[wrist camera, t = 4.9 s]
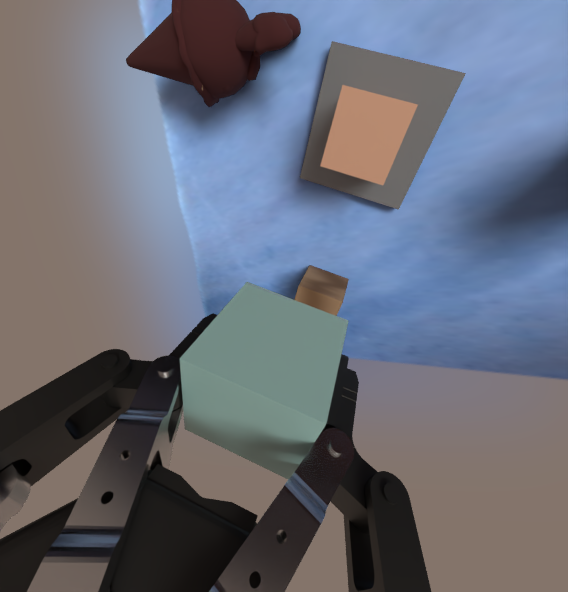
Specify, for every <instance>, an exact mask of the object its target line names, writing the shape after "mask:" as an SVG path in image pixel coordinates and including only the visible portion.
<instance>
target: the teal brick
mask: <svg viewBox="0 0 568 592" xmlns="http://www.w3.org/2000/svg"><path fill="white" fill-rule="evenodd" d="M347 325H348V320H345V319H343V318H340V317H337V316H335V315H332V314H330V313H327V312H324V311H322V310H319V309H316V308H314V307H311V306H309V305H306V304H303V303H301V302H298V301H295V300H293V299H290V298H288V297H285V296H282V295H280V294H277V293H275V292H272V291H269V290H267V289H264V288H261V287H259V286H256V285H254V284H251V283H248V282H246V284H245V285H244V286H243V287H242V288H241V289H240V290H239V292H238V293H237V294H236V295H235V296H234V297H233V298H232V300H231V301H230V302H229V303H228V304H227V305H226V306H225V307H224V309H223V310H222V311H221V312H220V313H219V314H218V315H217V317H216V318H215V319H214V320H213V321H212V322H211V323H210V325H209V326H208V327H207V328H206V329H205V330H204V331H203V333H202V334H201V335H200V336H199V337H198V338H197V339H196V341H195V342H194V343H193V344H192V345H191V346H190V347H189V348H188V350H187V351H186V352H185V353H184V354H183V355H182V356H181V358H180V370H181V384H182V397H183V411H184V423H185V429H186V430H188V431H190V432H192V433H194V434H196V435H198V436H200V437H203V438H204V439H206V440H208V441H211V442H213V443H215V444H217V445H219V446H221V447H223V448H225V449H227V450H229V451H231V452H233V453H235V454H237V455H239V456H241V457H243V458H245V459H248V460H250V461H252V462H254V463H256V464H258V465H260V466H262V467H264V468H266V469H268V470H270V471H272V472H274V473H276V474H278V475H280V476H282V477H285V478H286V479H289V478H290V477H291V476H292V475H293V473H294V472H295V470H296V469H297V467H298V466H299V465H300V463H301V462H302V460H303V459H304V458H305V456H306V455H307V453H308V452H309V450H310V449H311V447H312V446H313V444H314V443H315V441H316V439H317V438H318V436H319V435H320V433H321V432H322V430H323V428H324V427H325V425H326V423H327V419H328V414H329V409H330V405H331V400H332V395H333V391H334V386H335V381H336V377H337V372H338V367H339V363H340V358H341V353H342V349H343V344H344V339H345V335H346V330H347Z"/></svg>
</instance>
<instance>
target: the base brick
mask: <svg viewBox="0 0 568 592" xmlns="http://www.w3.org/2000/svg"><path fill="white" fill-rule="evenodd" d="M417 106H418V104H414V103H410V102H406V101H402V100H399V99H395V98H391V97H387V96H383V95H379V94H376V93H372V92H368V91H364V90H360V89H357V88H353V87H349V86H345V85H342V89H341V92H340V96H339V100H338V103H337V107H336V111H335V114H334V118H333V121H332V125H331V129H330V132H329V136H328V140H327V143H326V147H325V151H324V154H323V158H322V162H321V165H320V166H321V167H325V168H328V169H331V170H334V171H338V172H341V173H344V174H347V175H351V176H354V177H357V178H360V179H364V180H367V181H370V182H373V183H377V184H380V185H384V183H385V180H386V178H387V176H388V173H389V171H390V169H391V166H392V164H393V162H394V159H395V157H396V155H397V152H398V150H399V148H400V145H401V143H402V141H403V138H404V136H405V134H406V131H407V129H408V127H409V125H410V122H411V120H412V118H413V115H414V113H415V111H416V108H417Z"/></svg>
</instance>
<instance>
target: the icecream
mask: <svg viewBox="0 0 568 592" xmlns="http://www.w3.org/2000/svg"><path fill="white" fill-rule="evenodd" d="M300 32H301V28H300V23H299V20H298V19H297V18H296V17H295V16H293V15H292V14H285V13H275V12H269V13H261V14H259V15H256V17H255V18H254V19H253V20H249V17H248V15H247V13H246V11H245V9H244V8H243V7H242V6H241V5H240V4H239V2H237V1H236V0H172V13H171V14H170V15H169V16H168V17H167V18H166V19H165V20H164V21H163V22H162V23H161V24H160V25H159V26H158V27H157V28H156V29H155V30H154V31H153V32H152V33H151V34H150V35H149V36H148V37H147V38H146V39H145V40H144V41H143V42H142V43H141V44H140V45H139V46H138V47H137V48H136V49H135V50H134V51H133V52H132V53H131V54H130V55H129V56H128V58H127V59H126V62H127V64H128V66H130V67H133V68H136V69H139V70H142V71H146V72H149V73H153V74H156V75H159V76H163V77H166V78H169V79H173V80H176V81H179V82H183V83H186V84H190V85H193V86H194V87H195V89H196V90H197V91H198V93H199V94H200V95H201V96H202V97H203V99H204V102H205V103H206V105H207V106H208V107H211V106H213V105H214V104H215V103H218V101H219V99H220V98H225V97H228V96H230V95H233V94H236V93H237V92H238V91H239V90H240V89H241V88H242V87H243V86H244V85H245V83H246V81H247V80H249V81H250V80H256V77H257V74H258V72H259V69H260V55H262V54H263V53H265V52H269V51H274V50H279V49H281V48H284V47H286V46H287V45H288V44H289V43H290V42H291V40H294V39H295V38H297V37H298V36H299V35H300Z"/></svg>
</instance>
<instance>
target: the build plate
mask: <svg viewBox="0 0 568 592" xmlns="http://www.w3.org/2000/svg"><path fill="white" fill-rule="evenodd" d="M465 74H466V73H462V72H458V71H454V70H450V69H445V68H441V67H437V66H433V65H429V64H425V63H420V62H416V61H412V60H408V59H404V58H400V57H395V56H391V55H387V54H383V53H379V52H375V51H370V50H366V49H362V48H358V47H354V46H350V45H345V44H341V43H337V42H333V41H332V43H331V47H330V52H329V56H328V60H327V64H326V69H325V73H324V77H323V81H322V86H321V90H320V94H319V99H318V103H317V107H316V111H315V116H314V120H313V124H312V128H311V133H310V137H309V141H308V145H307V150H306V154H305V158H304V162H303V167H302V171H301V175H300V178H301V179H304V180H308V181H311V182H314V183H317V184H320V185H323V186H326V187H329V188H333V189H336V190H339V191H342V192H345V193H348V194H351V195H355V196H358V197H361V198H364V199H367V200H370V201H373V202H377V203H380V204H383V205H386V206H389V207H392V208H395V209H399V208H400V205H401V203H402V201H403V199H404V197H405V195H406V193H407V191H408V189H409V187H410V185H411V183H412V181H413V179H414V177H415V175H416V173H417V171H418V169H419V167H420V165H421V163H422V161H423V159H424V157H425V155H426V153H427V151H428V149H429V147H430V145H431V143H432V141H433V139H434V137H435V135H436V132H437V130H438V128H439V126H440V124H441V122H442V120H443V118H444V116H445V114H446V112H447V110H448V108H449V106H450V104H451V102H452V100H453V98H454V96H455V94H456V92H457V90H458V88H459V86H460V84H461V82H462V80H463V78H464V76H465ZM342 85H345V86H349V87H353V88H357V89H360V90H364V91H368V92H372V93H376V94H379V95H383V96H387V97H391V98H395V99H399V100H402V101H406V102H410V103H414V104H418V106H417V108H416V111H415V113H414V115H413V118H412V120H411V122H410V125H409V127H408V129H407V131H406V134H405V136H404V138H403V141H402V143H401V145H400V148H399V150H398V152H397V155H396V157H395V159H394V162H393V164H392V166H391V169H390V171H389V173H388V176H387V178H386V180H385V183H384V185H380V184H377V183H373V182H370V181H367V180H364V179H360V178H357V177H354V176H351V175H347V174H344V173H341V172H338V171H334V170H331V169H328V168H325V167H321V166H320V165H321V162H322V158H323V154H324V151H325V147H326V143H327V140H328V136H329V132H330V129H331V125H332V121H333V118H334V114H335V111H336V107H337V103H338V100H339V96H340V92H341V89H342Z"/></svg>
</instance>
